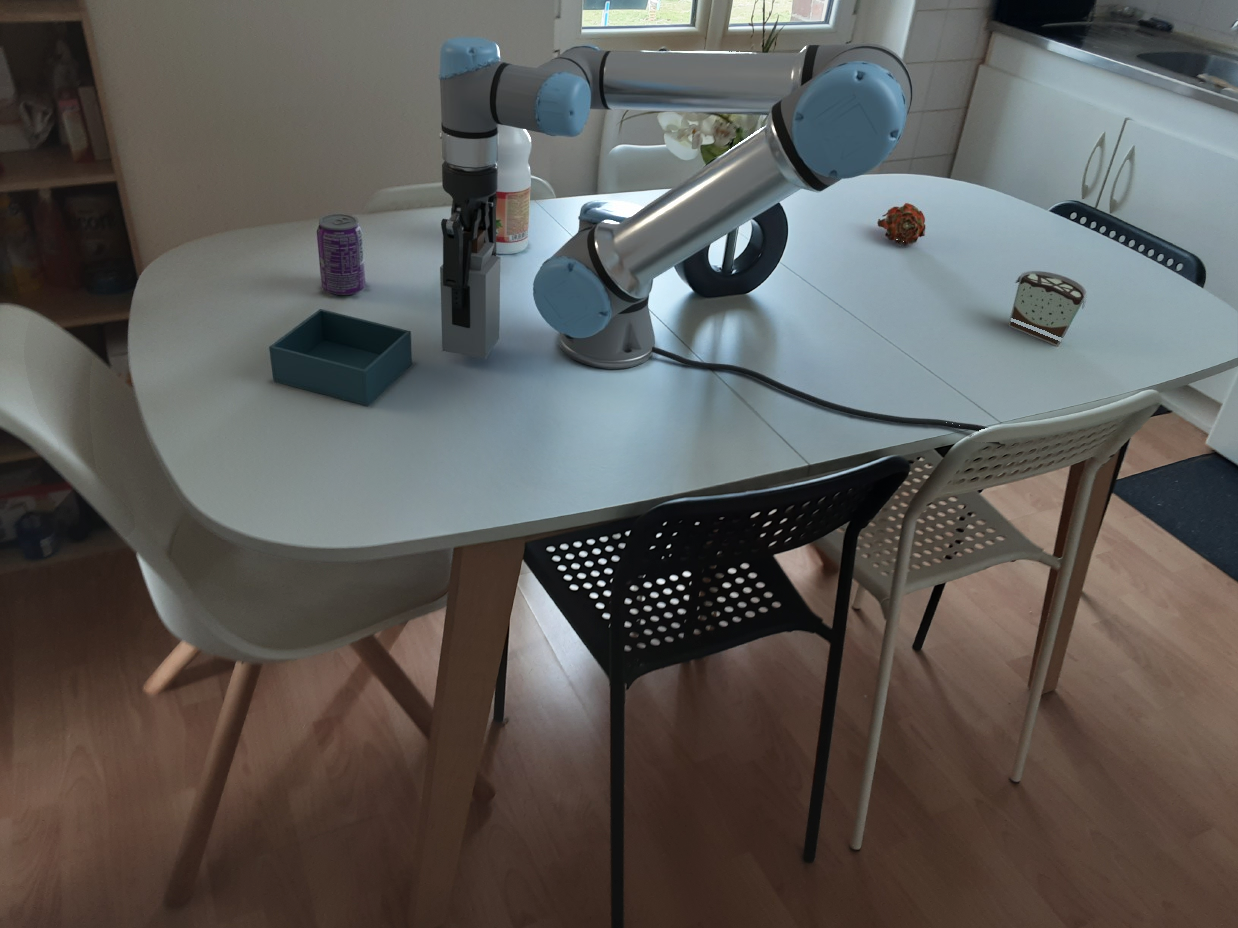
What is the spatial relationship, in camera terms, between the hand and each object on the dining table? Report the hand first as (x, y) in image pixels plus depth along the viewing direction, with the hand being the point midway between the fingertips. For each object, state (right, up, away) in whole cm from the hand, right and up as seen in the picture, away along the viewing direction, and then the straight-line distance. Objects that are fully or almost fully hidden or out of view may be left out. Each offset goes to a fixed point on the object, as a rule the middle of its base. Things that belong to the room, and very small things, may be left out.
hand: (471, 316), depth 144 cm
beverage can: (-24, +7, +18) cm, 31 cm away
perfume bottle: (0, -4, +3) cm, 5 cm away
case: (-18, -9, -3) cm, 20 cm away
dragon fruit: (+81, +25, +60) cm, 104 cm away
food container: (+98, +2, +30) cm, 103 cm away
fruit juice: (0, +19, +39) cm, 43 cm away
